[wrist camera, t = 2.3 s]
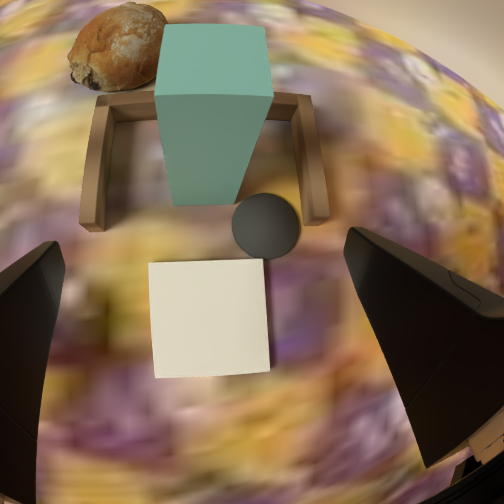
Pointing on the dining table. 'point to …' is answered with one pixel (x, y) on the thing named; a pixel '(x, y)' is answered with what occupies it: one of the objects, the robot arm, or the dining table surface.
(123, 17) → the bread roll
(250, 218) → the black disc
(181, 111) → the teal block
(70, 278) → the dining table surface
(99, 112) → the walnut frame
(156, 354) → the white tile
